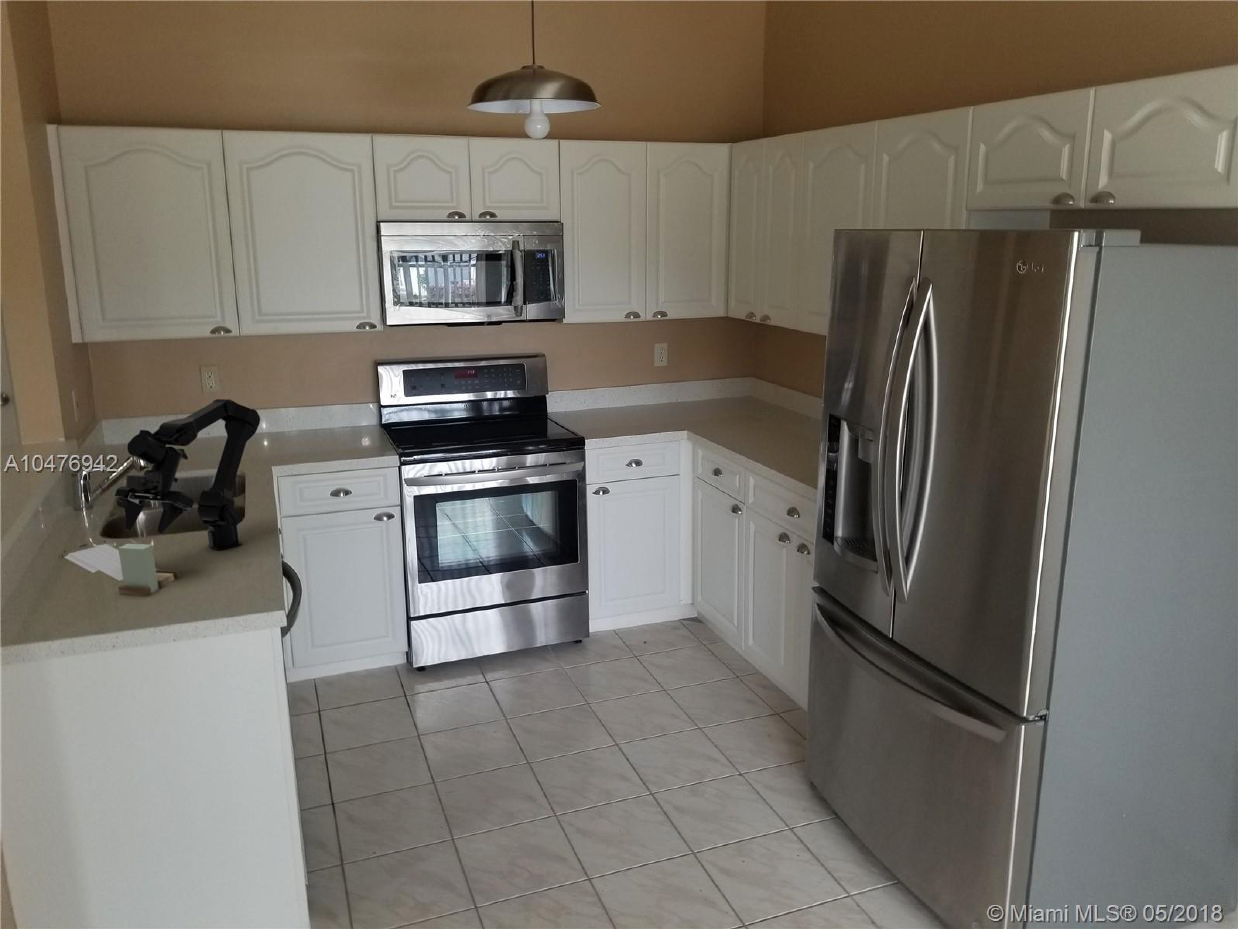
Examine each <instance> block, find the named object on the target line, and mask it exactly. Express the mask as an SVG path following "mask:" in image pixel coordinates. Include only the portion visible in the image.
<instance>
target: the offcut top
mask: <svg viewBox="0 0 1238 929" xmlns="http://www.w3.org/2000/svg"><path fill="white" fill-rule="evenodd" d="M156 575H157V580H163V582H165V581H167V580H169V579H170V578H172V577H174V576H173V574H172V573H156Z"/></svg>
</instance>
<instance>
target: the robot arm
mask: <svg viewBox="0 0 1238 929" xmlns="http://www.w3.org/2000/svg"><path fill="white" fill-rule="evenodd" d="M220 420H222V421H223V422H224V429H225V433H226V441H225V443H224V448H223V450H222V454H221V455H220V456H221V457H220V459H219V463H218V465H217V466H218V467H217V468H216V469H217V470H216V473H215V475H214V480H213V483H212V485H211V487H210V488H209V489H208V490H205V489H203V490H202V491H201V492H200V496H199V500H198V502H197V503H196V505H197V514H198V516H199V518H200V520H201V522H202V524H203V525H204V526H206V525H207V526H208V531H207V538H208V543H207V544H208V547H210V548H212V549H215V550H217V551H223V550H226V549H229V548H234V547H236V546H242V545H243V543H242V541H239V534H238V533H239V532H238V525H239V524H240V523H242V516H243V514H242V513H240V512H239V511H238V510H237V509H236V508H235V502H236V501H235V498H234V496H233V487H234V485H235V482H236V481H235V480H236V479H237V474H238V471H239V468H240V464H241V462H242V457H243V454H244V451H245V448H246V445H247V442H248V441H249V440H250V439H251V438H252V437H253V436H255V435H256V432H257V430H258V428H259V426H260V423H261V416H260V414H259V412H258V411H257V410H256V409H254V408H249V407H247V406H244V405H242V404H240V403H237V402H235V400H232V399H227V398H226V399H225V398H215V399H214V400H213V401H212V402H210V403H209V404H208V405H205V406H203V407H202V408H201V409H200V408H199V409H198V410H197V411H194V412H193V413H191V414H189V415H187V416H186V417H183V418H178V419H171V420H168V421H165V422H162V423H161V424H160V425H159V426H158V429H156V431H154V432H153V433H152V432H151V431H149V430H148V429H140V430H139V433H138V434H136V435H134V436H133V437H132V438H131V440H129V441H128V443H127V452H128V454H129V455H131V456H133V457H134V458H137V459H138V460H141V461H143V462H144V463H147V464H149V465H151V467H150V469H146V470H145V471H144V473H143V474H142V475H141V474H130V475H129V474H127V475H126V479H125V480H126V481H125V486H120V487H118V488H116V491H115V494H114V497H115V498H117V501H119V502H121V504H122V506H123V508H124V514H125V516H124V517H125V529H126V530H127V531H132V529H133V527H134V526H135V524H136V522H137V521H138V518H139V517H140V514H141V513H142V511H143V510H144V507H145V505H143V504H144V503H145V502H146V501H148V502H158V503H159V502H161V507H162V513H161V515H160V519H159V523H158V527H157V533H158V534H163V533H164V532H165V530H166V529H168V528H169V526H170V525H171V524H172V523H173V522H174V521H175V520H177V518H179V517H180V516H181V515H182V514H183V513H184V512H185V513H186V512H187V511H188V510H193V506H194V503H195V502H194V498H193V496H191V495H189V494H187V493H184V492H183V491H181V490H180V491H179V490H178V491H177V490H172V487H173V484H174V483H178V481H179V478H177V477H176V475H177V473H178V468H179V465H180V462H181V460H185V461H186V460H187V461H188V459H189V457H188V454H187V453H186V451H185V448H184V449H183V448H176V447H187V446H189V445H191V443H193V442H194V441H195V440H196V439H197V438H198V434H199V433H200V432H201V431H202V430H204V429H206V428H208V427H210V426H211V425H214V424H215V423H216V422H218V421H220ZM174 446H176V447H174Z"/></svg>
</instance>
